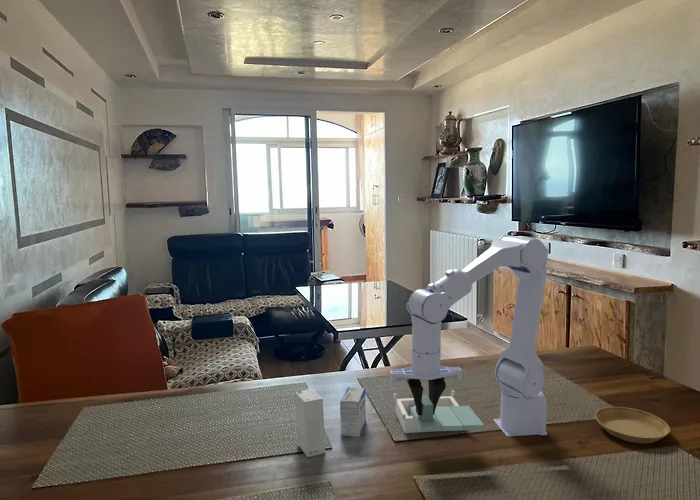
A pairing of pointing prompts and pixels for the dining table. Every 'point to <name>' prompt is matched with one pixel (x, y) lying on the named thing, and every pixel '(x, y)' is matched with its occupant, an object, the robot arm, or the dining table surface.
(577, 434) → the dining table surface
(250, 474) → the dining table surface
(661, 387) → the dining table surface
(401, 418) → the tub
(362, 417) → the medicine box
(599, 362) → the dining table surface
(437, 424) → the three-panel mint board
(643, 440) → the plant saucer
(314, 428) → the skincare box
